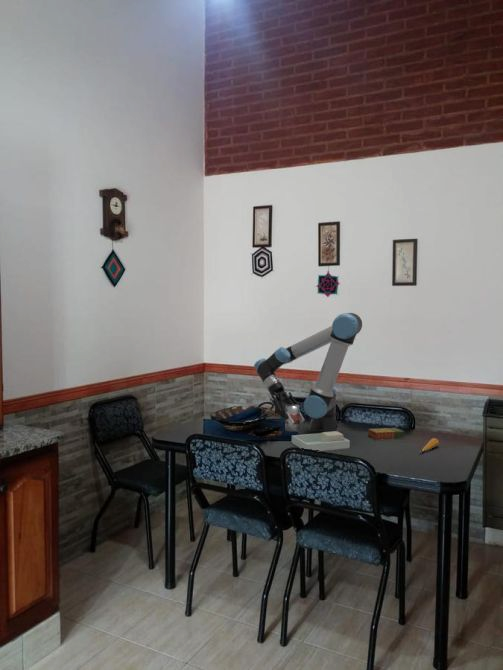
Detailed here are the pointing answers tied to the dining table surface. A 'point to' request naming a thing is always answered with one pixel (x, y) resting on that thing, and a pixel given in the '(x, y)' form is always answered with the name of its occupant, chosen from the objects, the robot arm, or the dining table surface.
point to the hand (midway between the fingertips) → (297, 422)
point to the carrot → (431, 444)
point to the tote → (318, 442)
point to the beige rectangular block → (332, 436)
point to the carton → (385, 433)
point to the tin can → (293, 417)
